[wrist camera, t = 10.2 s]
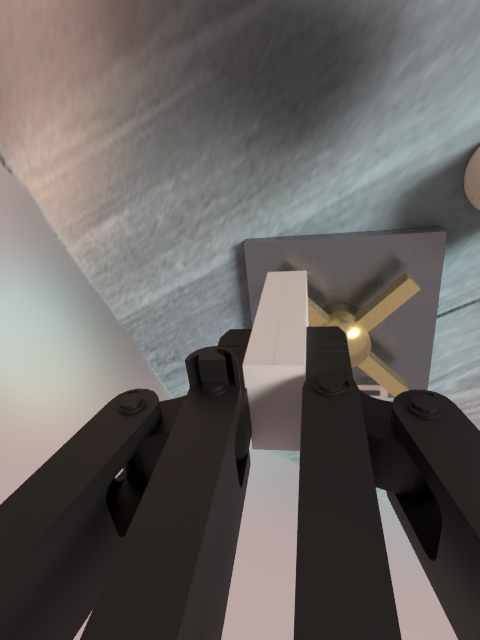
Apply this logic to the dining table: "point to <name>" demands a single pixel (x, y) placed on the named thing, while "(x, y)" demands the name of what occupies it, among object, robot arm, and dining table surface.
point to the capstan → (367, 329)
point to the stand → (365, 288)
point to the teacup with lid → (473, 180)
